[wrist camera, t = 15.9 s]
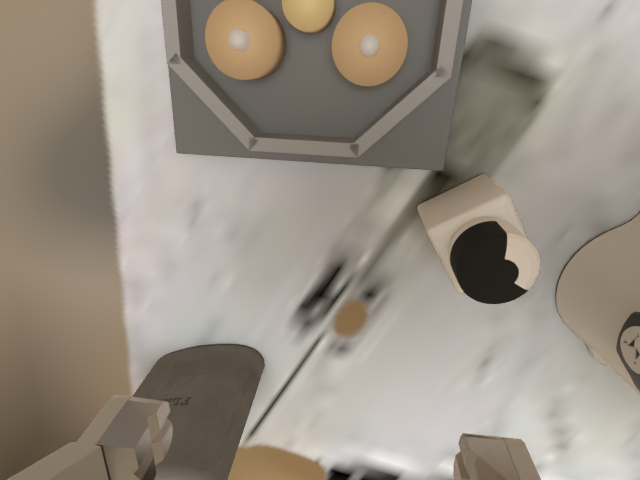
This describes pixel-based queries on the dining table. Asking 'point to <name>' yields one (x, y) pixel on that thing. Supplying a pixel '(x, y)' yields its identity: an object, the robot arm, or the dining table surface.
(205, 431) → the flask
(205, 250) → the dining table surface
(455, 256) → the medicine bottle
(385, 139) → the grey octagonal tray
